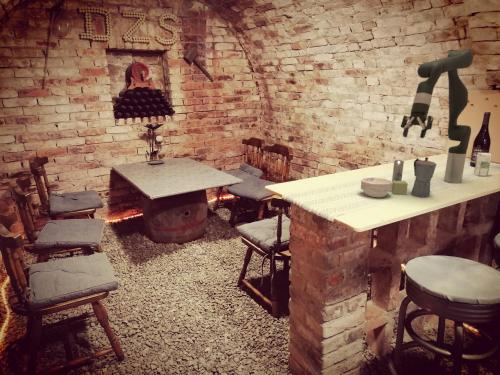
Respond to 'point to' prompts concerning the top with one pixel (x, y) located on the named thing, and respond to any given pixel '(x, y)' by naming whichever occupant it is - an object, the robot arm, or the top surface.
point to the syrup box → (482, 164)
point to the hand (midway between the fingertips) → (413, 137)
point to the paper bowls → (376, 186)
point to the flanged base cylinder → (397, 170)
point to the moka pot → (423, 177)
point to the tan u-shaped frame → (399, 187)
